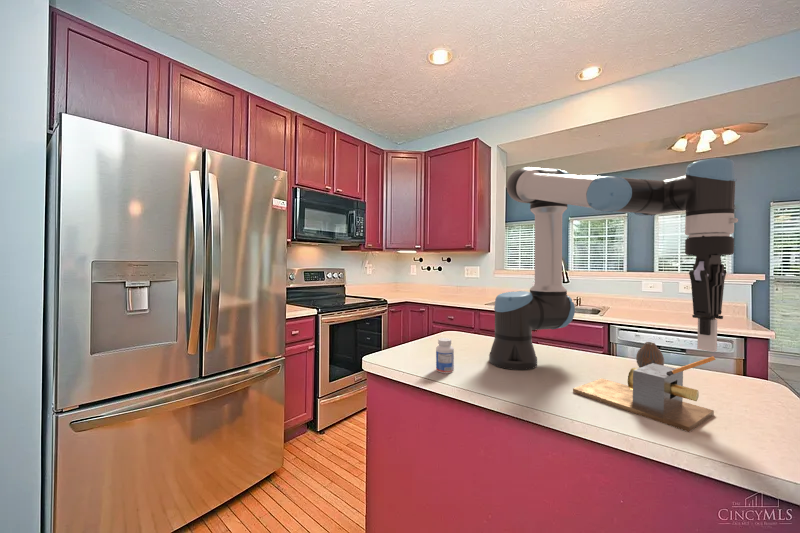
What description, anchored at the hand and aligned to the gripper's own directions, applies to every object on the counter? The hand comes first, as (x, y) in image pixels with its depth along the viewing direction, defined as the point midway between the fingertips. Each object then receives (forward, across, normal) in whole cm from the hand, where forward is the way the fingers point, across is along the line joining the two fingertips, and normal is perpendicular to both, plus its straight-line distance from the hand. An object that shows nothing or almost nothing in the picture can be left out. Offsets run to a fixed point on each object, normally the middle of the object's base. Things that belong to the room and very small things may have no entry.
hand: (707, 349), depth 71 cm
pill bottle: (+16, -24, +56) cm, 63 cm away
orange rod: (+4, 0, +2) cm, 4 cm away
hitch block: (+16, 0, +13) cm, 20 cm away
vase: (+16, +29, +22) cm, 39 cm away
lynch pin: (+13, 0, +8) cm, 15 cm away
